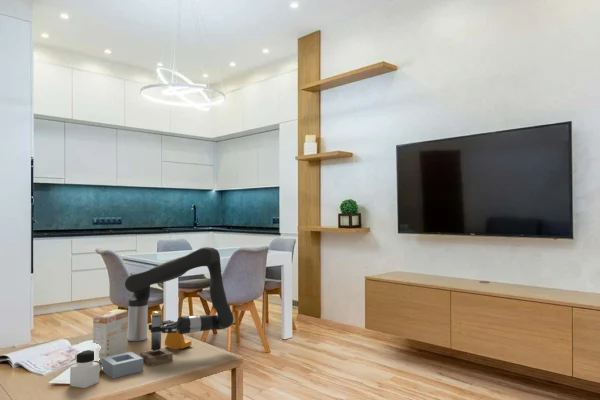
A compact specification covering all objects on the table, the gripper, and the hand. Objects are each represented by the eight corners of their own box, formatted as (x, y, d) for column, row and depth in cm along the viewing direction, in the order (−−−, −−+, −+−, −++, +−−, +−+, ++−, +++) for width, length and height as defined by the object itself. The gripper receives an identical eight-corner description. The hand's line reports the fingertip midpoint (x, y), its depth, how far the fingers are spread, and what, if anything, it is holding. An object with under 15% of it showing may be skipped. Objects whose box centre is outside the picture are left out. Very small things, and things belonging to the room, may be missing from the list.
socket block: (140, 359, 194) (140, 353, 194) (161, 355, 201) (161, 348, 201) (150, 365, 186) (150, 358, 187) (172, 360, 193) (172, 353, 193)
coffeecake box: (114, 351, 206) (115, 308, 207) (128, 352, 204) (128, 309, 205) (91, 361, 191) (92, 315, 192) (105, 363, 189) (106, 316, 190)
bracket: (192, 346, 215) (192, 321, 215) (181, 350, 208) (182, 324, 209) (175, 343, 220) (175, 318, 220) (164, 347, 213) (165, 321, 214)
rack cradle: (101, 370, 181) (101, 357, 181) (130, 363, 189) (131, 351, 189) (112, 378, 172) (113, 365, 172) (143, 370, 180) (143, 358, 180)
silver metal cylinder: (149, 348, 194) (150, 311, 194) (158, 346, 197) (159, 310, 197) (153, 350, 191) (154, 313, 191) (162, 349, 194) (163, 312, 194)
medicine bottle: (99, 382, 168) (100, 349, 168) (84, 388, 161) (85, 355, 162) (84, 379, 170) (85, 347, 171) (69, 386, 164) (70, 353, 164)
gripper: (185, 312, 207) (147, 316, 199) (193, 319, 195) (152, 323, 187) (185, 329, 207) (146, 333, 199) (193, 336, 195) (152, 341, 186)
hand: (149, 328), depth 193 cm, fingers closed on silver metal cylinder, 4 cm apart
